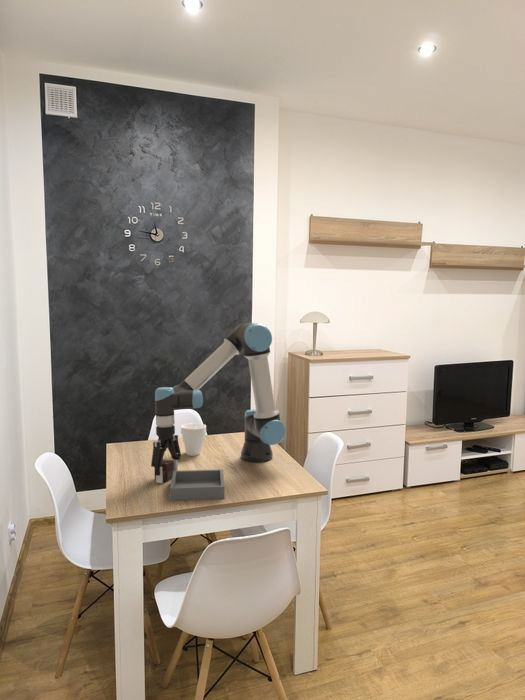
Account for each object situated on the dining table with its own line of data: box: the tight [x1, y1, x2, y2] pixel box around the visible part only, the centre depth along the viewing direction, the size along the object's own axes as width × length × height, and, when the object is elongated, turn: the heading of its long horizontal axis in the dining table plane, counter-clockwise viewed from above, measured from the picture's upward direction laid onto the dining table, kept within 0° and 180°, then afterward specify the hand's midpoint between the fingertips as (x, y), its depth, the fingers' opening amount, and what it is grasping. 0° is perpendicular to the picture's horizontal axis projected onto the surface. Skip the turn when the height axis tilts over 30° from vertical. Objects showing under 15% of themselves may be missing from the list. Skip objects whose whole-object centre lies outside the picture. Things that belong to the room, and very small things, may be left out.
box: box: [153, 458, 174, 482], centre depth 204 cm, size 6×6×7 cm
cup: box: [180, 422, 207, 457], centre depth 239 cm, size 12×12×14 cm
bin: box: [169, 468, 225, 502], centre depth 192 cm, size 20×20×5 cm
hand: (167, 478), depth 203 cm, fingers open, 10 cm apart
